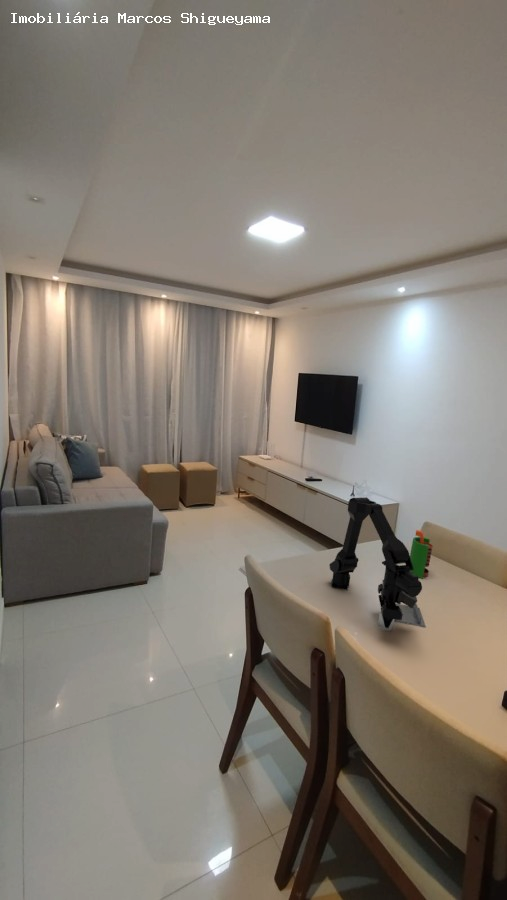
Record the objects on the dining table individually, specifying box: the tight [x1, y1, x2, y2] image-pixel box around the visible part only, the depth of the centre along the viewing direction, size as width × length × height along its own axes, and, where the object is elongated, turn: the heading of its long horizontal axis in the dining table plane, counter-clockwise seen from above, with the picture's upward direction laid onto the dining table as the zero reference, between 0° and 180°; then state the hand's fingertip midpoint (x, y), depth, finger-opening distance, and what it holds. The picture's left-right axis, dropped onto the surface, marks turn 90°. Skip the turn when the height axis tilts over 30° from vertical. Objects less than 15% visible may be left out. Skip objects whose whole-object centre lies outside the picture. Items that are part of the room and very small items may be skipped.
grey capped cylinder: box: [377, 611, 395, 632], centre depth 141 cm, size 5×5×6 cm
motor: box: [409, 529, 434, 580], centre depth 184 cm, size 10×9×20 cm
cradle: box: [394, 603, 426, 628], centre depth 150 cm, size 12×12×2 cm
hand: (385, 623), depth 141 cm, fingers closed on grey capped cylinder, 5 cm apart
